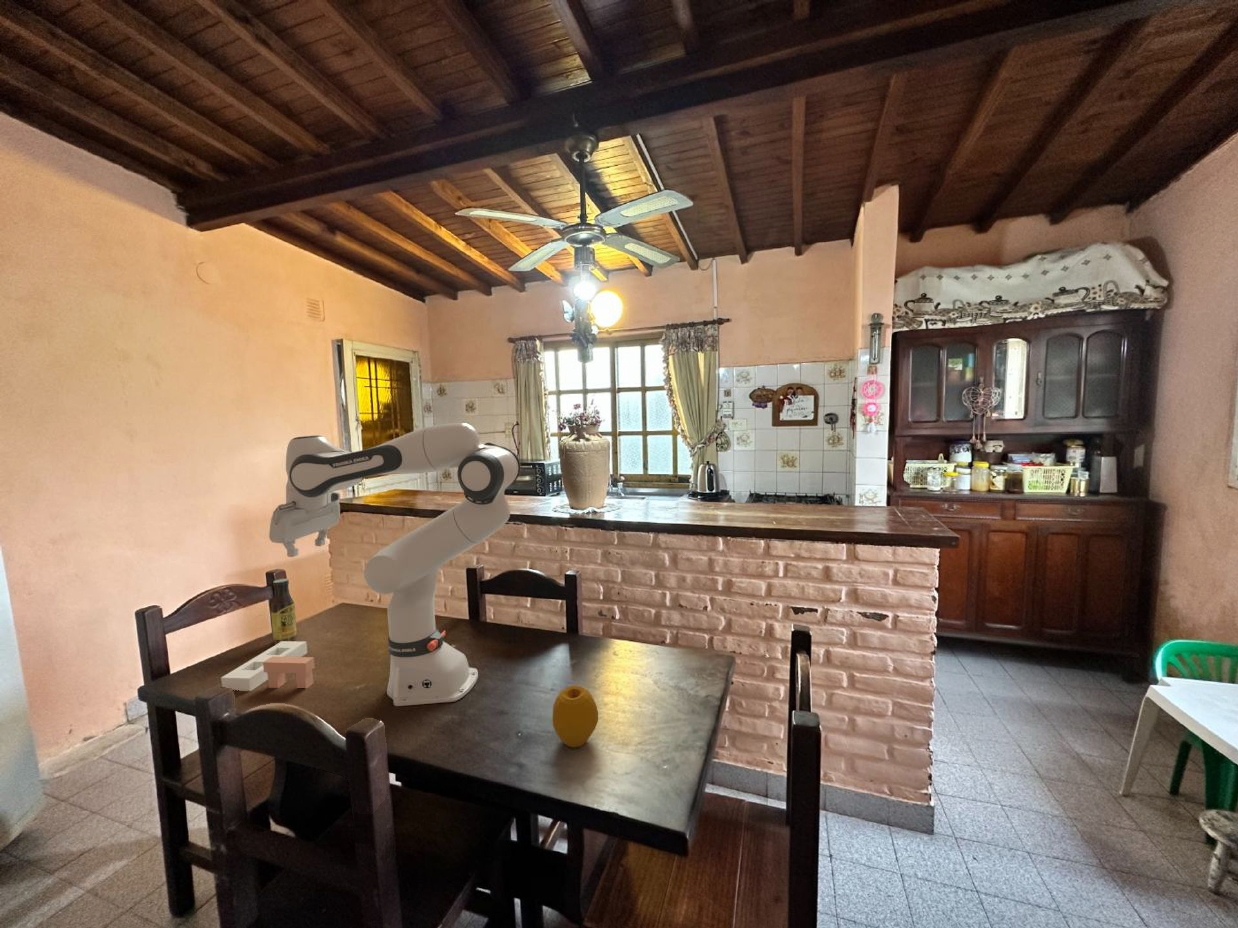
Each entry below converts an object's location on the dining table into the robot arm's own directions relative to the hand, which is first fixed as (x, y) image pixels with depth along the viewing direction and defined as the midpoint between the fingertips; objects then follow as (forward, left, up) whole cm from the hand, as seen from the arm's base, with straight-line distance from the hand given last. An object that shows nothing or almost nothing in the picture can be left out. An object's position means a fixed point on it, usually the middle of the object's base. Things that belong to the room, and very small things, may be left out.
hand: (306, 550), depth 124 cm
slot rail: (+20, -5, -36) cm, 42 cm away
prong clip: (+7, +2, -36) cm, 37 cm away
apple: (-73, +19, -37) cm, 84 cm away
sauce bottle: (+29, -22, -37) cm, 52 cm away
